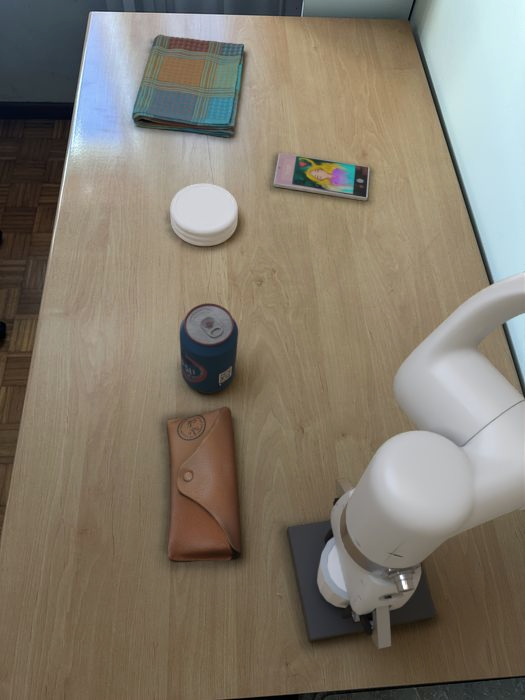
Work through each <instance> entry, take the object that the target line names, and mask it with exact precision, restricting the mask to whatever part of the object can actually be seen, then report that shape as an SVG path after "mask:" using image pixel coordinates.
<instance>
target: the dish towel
mask: <svg viewBox="0 0 525 700" xmlns="http://www.w3.org/2000/svg"><path fill="white" fill-rule="evenodd" d="M244 52H245V45H244V44H243V43H233V42H224V41H216V40H204V39H197V38H189V37H178V36H170V35H164V34H158V35H156V36H155V37H154V40H153V42H152V45H151V49H150V52H149V54H148V57H147V58H148V59H147V62H146V65H145V67H144V70H143V75H142V78H141V82H140V85H139V89H138V91H137V94H136V97H135V101H134V104H133V108H132V113H131V119H132V121H133V123H134V124H135V125H136V126H139V127H141V128H147V129H148V128H149V129H159V130H176V131H186V132H192V133H198V134H204V135H208V136H209V135H210V136H215V137H223V138H230V137H231V136H234V133H235V126H236V122H237V114H238V107H239V100H240V93H241V85H242V84H241V83H242V74H243V73H242V72H243V63H244Z"/></svg>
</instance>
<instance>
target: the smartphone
mask: <svg viewBox="0 0 525 700" xmlns="http://www.w3.org/2000/svg"><path fill="white" fill-rule="evenodd" d="M369 181H370V167H369V166H366V165H359V164H353V163H349V162H348V163H347V162H341V161H335V160H328V159H322V158H316V157H309V156H303V155H297V154H291V153H284V152H278V156H277V161H276V167H275V173H274V178H273V184H272V185H273V187H275V188H282V189H287V190H295V191H301V192H306V193H307V192H308V193H314V194H320V195H325V196H326V195H327V196H332V197H339V198H345V199H351V200H358V201H365V202H366V201H367V200H368V196H369V184H370V183H369Z"/></svg>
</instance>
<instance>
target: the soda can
mask: <svg viewBox="0 0 525 700" xmlns="http://www.w3.org/2000/svg"><path fill="white" fill-rule="evenodd" d="M238 340H239V328H238V324H237V322H236V321H235V318H234V317H233V316H232V314H231V313H230V311H229V310H227V309H226V308H225V307H224V306H222V305H219V304H217V303H210V302H209V303H201V304H199V305H196V306H194V307H193V308H191V309H190V310H189V311H188V312H187V314H186V316H185V317H184V318H183V320H182V321H181V322H180V326H179V348H180V351H179V352H180V368H181V375H182V378H183V381H184V382H185V383H186V384H187V385H188V386H189V387H190V388H191V389H194V390H195V391H197V392H200V393H204V394H205V393H208V394H209V393H210V394H211V393H217V392H220V391H222V390H224V389H225V388H227V387H228V386H229V385H230V384H231V383H232V381H233V380H234V377H235V375H236V368H237V367H236V365H237V352H238Z"/></svg>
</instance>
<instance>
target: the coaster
mask: <svg viewBox="0 0 525 700" xmlns="http://www.w3.org/2000/svg"><path fill="white" fill-rule="evenodd" d="M238 206H239V205H238V202H237V201H236V199H235V197H234V196H233V194H232V193H231V192H229V191H228V190H227V189H226V188H224V187H222V186H219V185H216V184H212V183H204V182H203V183H194V184H190V185H187V186H184V187H183V188H181V189H180V190H178V192H176V193H175V194H174V196H173V197H172V200H171V202H170V205H169V213H170V215H169V216H170V226H171V228H172V230H173V232H174V234H176V236H177V237H178V238H179V239H180V240H182V241H184V242H185V243H188V244H190V245H194V246H199V247H211V246H216V245H220V244H221V243H224V242H226V241H227V240H228V239H230V237H231V236H233V234H234V233H235V231H236V229H237V226H238V217H239V207H238Z"/></svg>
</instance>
